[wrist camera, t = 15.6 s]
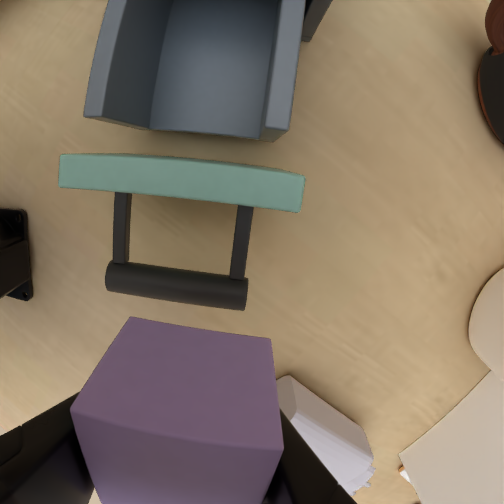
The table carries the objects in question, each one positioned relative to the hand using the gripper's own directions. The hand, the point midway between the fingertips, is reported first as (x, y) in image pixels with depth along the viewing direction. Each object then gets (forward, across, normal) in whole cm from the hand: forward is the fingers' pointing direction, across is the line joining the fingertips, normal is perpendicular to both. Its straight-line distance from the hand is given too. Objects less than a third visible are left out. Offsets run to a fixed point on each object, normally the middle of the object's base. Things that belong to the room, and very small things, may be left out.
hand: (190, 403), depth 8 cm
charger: (+11, -9, +14) cm, 20 cm away
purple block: (+1, 0, 0) cm, 1 cm away
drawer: (+10, +2, -8) cm, 13 cm away
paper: (+3, -26, +7) cm, 27 cm away
